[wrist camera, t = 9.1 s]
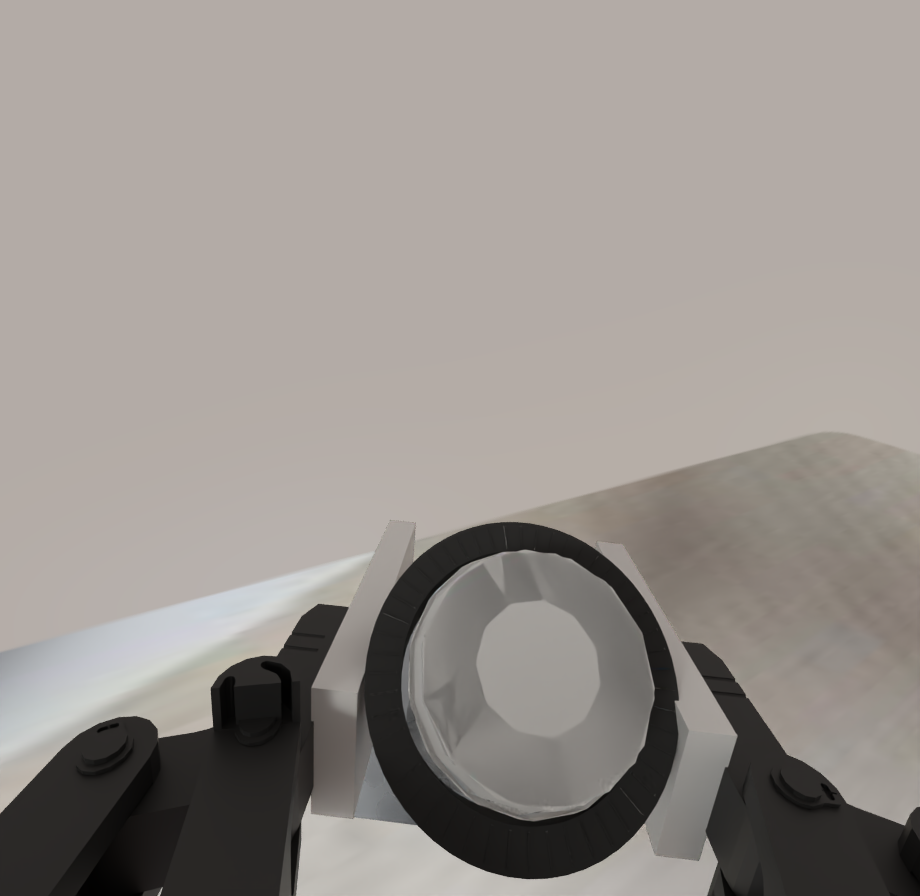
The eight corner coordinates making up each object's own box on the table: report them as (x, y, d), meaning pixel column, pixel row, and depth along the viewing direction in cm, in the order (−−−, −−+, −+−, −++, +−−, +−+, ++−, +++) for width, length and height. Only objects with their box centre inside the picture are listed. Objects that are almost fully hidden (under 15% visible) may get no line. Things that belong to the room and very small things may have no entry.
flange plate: (347, 811, 25) (342, 815, 24) (381, 614, 30) (379, 610, 29) (576, 840, 24) (582, 845, 23) (573, 635, 29) (577, 632, 28)
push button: (585, 813, 14) (848, 944, 6) (415, 879, 13) (429, 1163, 5) (515, 597, 18) (620, 475, 9) (371, 636, 16) (334, 539, 8)
